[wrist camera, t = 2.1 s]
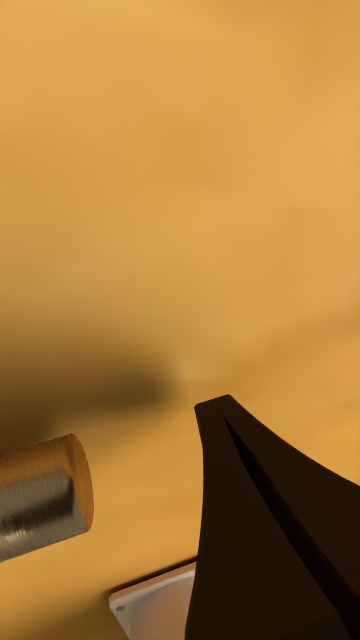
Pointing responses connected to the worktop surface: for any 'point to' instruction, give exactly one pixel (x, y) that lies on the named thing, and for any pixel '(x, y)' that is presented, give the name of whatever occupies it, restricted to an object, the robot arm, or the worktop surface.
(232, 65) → the worktop surface
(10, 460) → the shaft
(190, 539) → the worktop surface
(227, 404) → the robot arm
